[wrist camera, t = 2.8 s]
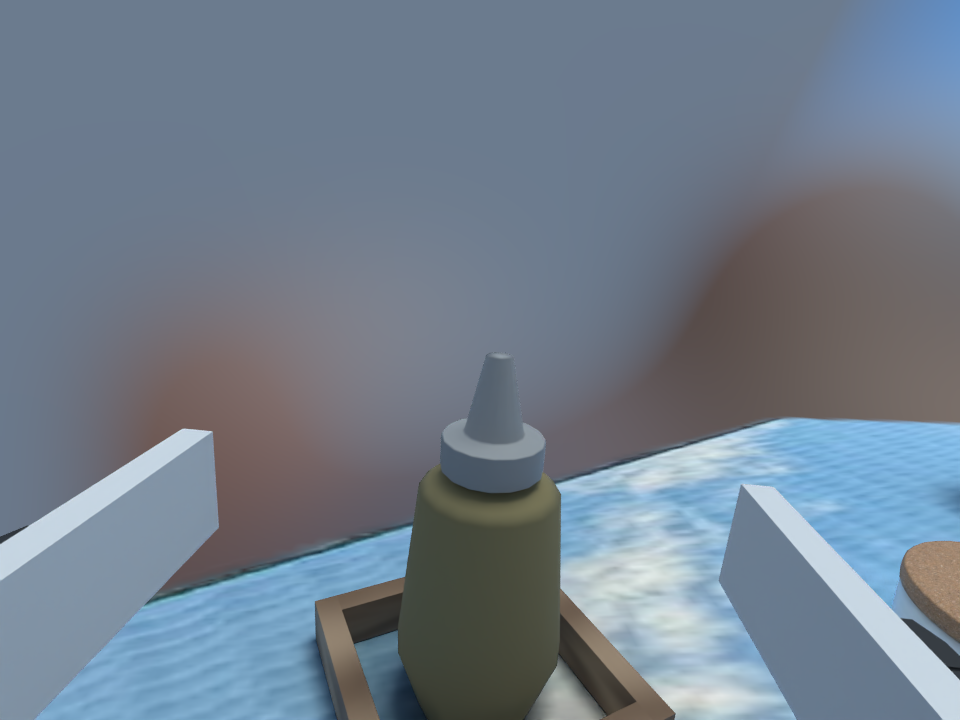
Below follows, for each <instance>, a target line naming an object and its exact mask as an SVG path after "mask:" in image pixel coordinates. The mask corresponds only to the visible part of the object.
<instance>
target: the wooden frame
mask: <svg viewBox="0 0 960 720" xmlns="http://www.w3.org/2000/svg"><path fill="white" fill-rule="evenodd" d="M404 582H405V577H403V578H399V579H396V580H392V581H388V582H384V583H381V584H377V585H373V586H370V587H366V588H362V589H359V590H355V591H351V592H348V593H344V594H340V595H337V596H333V597H329V598H326V599H322V600H318V601H315V625H316V641H317V645H318V648H319V652H320V656H321V660H322V663H323V667H324V671H325V675H326V679H327V682H328V686H329V690H330V694H331V697H332V701H333V705H334V709H335V712H336V716H337V720H380V719H379V716H378V713H377V710H376V707H375V704H374V702H373V699H372V696H371V693H370V690H369V687H368V684H367V681H366V678H365V675H364V673H363V670H362V667H361V664H360V661H359V658H358V655H357V652H356V649H355V647H354V644H353V643H356V642H360V641H363V640H366V639H369V638H372V637H375V636H378V635H382V634H385V633H388V632H391V631H394V630H397V629H398V623H399V616H400V610H401V603H402V596H403V589H404ZM558 653H559V654H560V655H561V657H562V658H563V659H564V661H565V662H566V663H567V664H568V666H569V667H570V668H571V669H572V671H573V672H574V673H575V675H576V676H577V677H578V678H579V680H580V681H581V682H582V683H583V685H584V686H585V687H586V689H587V690H588V691H589V692H590V694H591V695H592V696H593V697H594V699H595V700H596V701H597V702H598V704H599V705H600V706H601V708H602V709H603V710H604V711H605V713H606V714H607V715H608V716H606V717H604V718H602V719H600V720H674V718H675V713H674V711H673V710H672V709H671V708H670V707H669V706H668V705H667V704H666V703H665V702H664V701H663V699H662V698H661V697H660V696H659V695H658V694H657V693H656V692H655V691H654V690H653V689H652V688H651V686H650V685H649V684H648V683H647V682H646V681H645V680H644V679H643V678H642V677H641V676H640V674H639V673H638V672H637V671H636V670H635V669H634V668H633V667H632V666H631V665H630V664H629V663H628V661H627V660H626V659H625V658H624V657H623V656H622V655H621V654H620V653H619V652H618V651H617V649H616V648H615V647H614V646H613V645H612V644H611V643H610V642H609V641H608V640H607V639H606V638H605V636H604V635H603V634H602V633H601V632H600V631H599V630H598V629H597V628H596V627H595V626H594V624H593V623H592V622H591V621H590V620H589V619H588V618H587V617H586V616H585V615H584V614H583V613H582V611H581V610H580V609H579V608H578V607H577V606H576V605H575V604H574V603H573V602H572V601H571V600H570V598H569V597H568V596H567V595H566V594H565V593H564V592H563V591H562V590H561V589H560V643H559V651H558Z"/></svg>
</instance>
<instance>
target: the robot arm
mask: <svg viewBox="0 0 960 720" xmlns="http://www.w3.org/2000/svg"><path fill="white" fill-rule="evenodd" d="M218 527H219V525H218V509H217V493H216V478H215V462H214V448H213V432H212V431H201V430H192V429H182V430H180V431H179V432H177V433H175V434H174V435H172V436H171V437H169V438H167V439H166V440H164V441H163V442H161V443H159V444H158V445H156V446H155V447H153V448H152V449H150V450H149V451H147V452H145V453H144V454H142V455H141V456H139V457H137V458H136V459H134V460H133V461H131V462H130V463H128V464H126V465H125V466H123V467H122V468H120V469H118V470H117V471H115V472H114V473H112V474H110V475H109V476H108V477H106V478H104V479H103V480H101V481H100V482H98V483H96V484H95V485H93V486H92V487H90V488H89V489H87V490H85V491H84V492H82V493H81V494H79V495H77V496H76V497H74V498H73V499H71V500H70V501H68V502H66V503H65V504H63V505H62V506H60V507H58V508H57V509H55V510H54V511H52V512H50V513H49V514H47V515H46V516H44V517H43V518H41V519H39V520H38V521H36V522H35V523H33V524H31V525H30V526H25V527H23V528H20V529H18V530H16V531H13V532H11V533H8V534H6V535H3V536H1V537H0V720H34V719H35V718H36V717H37V716H38V715H39V714H40V713H41V712H42V711H43V710H44V709H45V708H46V707H47V706H48V705H49V704H50V703H51V702H52V701H53V700H54V698H55V697H56V696H57V695H58V694H59V693H60V692H61V691H62V690H63V689H64V688H65V687H66V686H67V685H68V684H69V683H70V682H71V681H72V680H73V679H74V678H75V677H76V676H77V675H78V673H79V672H80V671H81V670H82V669H83V668H84V667H85V666H86V665H87V664H88V663H89V662H90V661H91V660H92V659H93V658H94V657H95V656H96V655H97V654H98V653H99V652H100V651H101V649H102V648H103V647H104V646H105V645H106V644H107V643H108V642H109V641H110V640H111V639H112V638H113V637H114V636H115V635H116V634H117V633H118V632H119V631H120V630H121V629H122V628H123V627H124V626H125V624H126V623H127V622H128V621H129V620H130V619H131V618H132V617H133V616H134V615H135V614H136V613H137V612H138V611H139V610H140V609H141V608H142V607H143V606H144V605H145V604H146V603H147V602H148V600H149V599H150V598H151V597H152V596H153V595H154V594H155V593H156V592H157V591H158V590H159V589H160V588H161V587H162V586H163V585H164V584H165V583H166V582H167V581H168V580H169V579H170V578H171V576H172V575H173V574H174V573H175V572H176V571H177V570H178V569H179V568H180V567H181V566H182V565H183V564H184V563H185V562H186V561H187V560H188V559H189V558H190V557H191V556H192V555H193V554H194V552H195V551H196V550H197V549H198V548H199V547H200V546H201V545H202V544H203V543H204V542H205V541H206V540H207V539H208V538H209V537H210V536H211V535H212V534H213V532H215V531H216V530H217V529H218ZM719 582H720V584H721V586H722V587H723V589H724V591H725V593H726V595H727V596H728V598H729V600H730V602H731V603H732V605H733V607H734V609H735V610H736V612H737V614H738V616H739V618H740V619H741V621H742V623H743V625H744V626H745V628H746V630H747V632H748V634H749V635H750V637H751V639H752V641H753V642H754V644H755V646H756V648H757V650H758V651H759V653H760V655H761V657H762V658H763V660H764V662H765V664H766V665H767V667H768V669H769V671H770V673H771V674H772V676H773V678H774V680H775V681H776V683H777V685H778V687H779V689H780V690H781V692H782V694H783V696H784V697H785V699H786V701H787V703H788V704H789V706H790V708H791V710H792V712H793V713H794V715H795V717H796V719H797V720H960V656H959V655H958V654H957V653H956V652H955V651H954V650H953V649H952V648H951V647H950V646H949V645H948V644H947V643H946V642H945V641H943V640H942V639H940V638H939V637H937V636H936V635H934V634H933V633H931V632H930V631H929V630H927V629H926V628H924V627H923V626H921V625H920V624H918V623H917V622H915V621H914V620H912V619H905V618H899V617H898V615H897V614H896V613H895V612H894V611H893V610H892V609H891V608H890V607H889V606H888V605H887V604H886V603H885V602H884V601H883V600H882V599H881V598H880V597H879V596H878V595H877V594H876V593H875V592H874V591H873V590H872V589H871V588H870V586H869V585H868V584H867V583H866V582H865V581H864V580H863V579H862V578H861V577H860V576H859V575H858V574H857V573H856V572H855V571H854V570H853V569H852V568H851V567H850V566H849V565H848V564H847V563H846V562H845V561H844V560H843V559H842V557H841V556H840V555H839V554H838V553H837V552H836V551H835V550H834V549H833V548H832V547H831V546H830V545H829V544H828V543H827V542H826V541H825V540H824V539H823V538H822V537H821V536H820V535H819V534H818V533H817V532H816V531H815V529H814V528H813V527H812V526H811V525H810V524H809V523H808V522H807V521H806V520H805V519H804V518H803V517H802V516H801V515H800V514H799V513H798V512H797V511H796V510H795V509H794V508H793V507H792V506H791V505H790V504H789V503H788V502H787V500H786V499H785V498H784V497H783V496H782V495H781V494H780V493H779V492H778V491H777V490H776V489H775V488H774V487H768V486H758V485H748V484H741V487H740V491H739V496H738V500H737V504H736V508H735V513H734V517H733V521H732V526H731V530H730V534H729V538H728V543H727V547H726V551H725V556H724V560H723V564H722V568H721V573H720V577H719Z"/></svg>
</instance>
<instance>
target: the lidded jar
mask: <svg viewBox="0 0 960 720" xmlns="http://www.w3.org/2000/svg"><path fill="white" fill-rule="evenodd" d="M892 610H893V611H894V612H895V613H896V614H897V615H898V617H899V618H905V619H912V620H914V621H915V622H917V623H918V624H920V625H921V626H923V627H924V628H926V629H927V630H929V631H930V632H931V633H933V634H934V635H936V636H937V637H939V638H940V639H942V640H943V641H945V642H946V643H947V644H948V645H949V646H950V647H951V648H952V649H953V650H954V651H955V652H956V653H957V654H958V655H959V656H960V542H953V541H933V542H924V543H922V544H919V545H916V546H914V547H912V548H911V549H909V550H908V551H907V552H906V554H905V555H904V557H903V560H902V563H901V567H900V579H899V582H898V585H897V588H896V592H895V595H894V599H893V605H892Z"/></svg>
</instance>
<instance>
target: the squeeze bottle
mask: <svg viewBox="0 0 960 720" xmlns="http://www.w3.org/2000/svg"><path fill="white" fill-rule="evenodd" d="M545 447H546V440H545V439H544V437H543V436H542V434H541V433H540V432H539V431H538V430H536V429H535V428H533V427H531V426H530V425H528V424H525V423H523V422H522V415H521V407H520V400H519V393H518V385H517V378H516V371H515V363H514V357H513V356H512V355H510V354H506V353H496V352H495V353H489V354H487V355H486V358H485V361H484V364H483V368H482V371H481V375H480V378H479V382H478V385H477V388H476V392H475V395H474V398H473V402H472V405H471V408H470V412H469V415H468V418H467V419H462V420H458V421H456V422H454V423H452V424H449V425H448V426H447V427H446V429H445V430H444V431H443V432H442V435H441V455H440V464H439V465H437V466H435V467H434V468H432V469H431V470H429V471H428V472H427V473H426V475H425V476H424V477H423V479H422V480H421V482H420V483H419V487H418V494H417V501H416V508H415V514H414V521H413V528H412V535H411V542H410V548H409V555H408V562H407V569H406V576H405V582H404V589H403V596H402V603H401V610H400V616H399V623H398V653H399V656H400V658H401V661H402V663H403V665H404V668H405V670H406V673H407V675H408V678H409V680H410V683H411V685H412V688H413V690H414V693H415V695H416V698H417V700H418V703H419V705H420V707H421V708H422V710H423V712H424V714H425V716H426V718H427V720H523V719H524V718H525V716H526V715H527V714H528V712H529V710H530V709H531V707H532V706H533V704H534V702H535V701H536V699H537V697H538V696H539V694H540V692H541V691H542V689H543V687H544V686H545V684H546V683H547V681H548V679H549V678H550V676H551V674H552V673H553V671H554V669H555V668H556V666H557V660H558V651H559V643H560V540H561V494H560V492H559V490H558V489H557V487H556V485H555V484H554V482H553V480H552V479H550V478H549V477H548V476H547V475H546V474H545V473H543V466H544V457H545Z"/></svg>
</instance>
